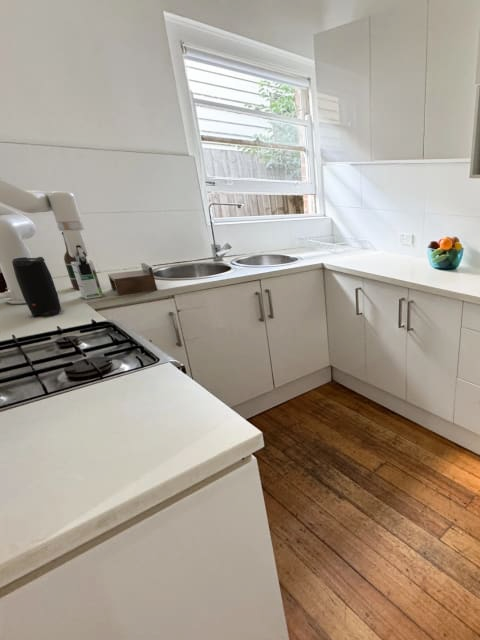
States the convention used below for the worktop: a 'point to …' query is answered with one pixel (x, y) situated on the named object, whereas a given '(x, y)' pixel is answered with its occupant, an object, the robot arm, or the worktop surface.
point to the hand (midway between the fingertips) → (85, 272)
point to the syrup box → (87, 281)
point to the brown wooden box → (133, 281)
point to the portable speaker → (37, 286)
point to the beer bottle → (70, 267)
